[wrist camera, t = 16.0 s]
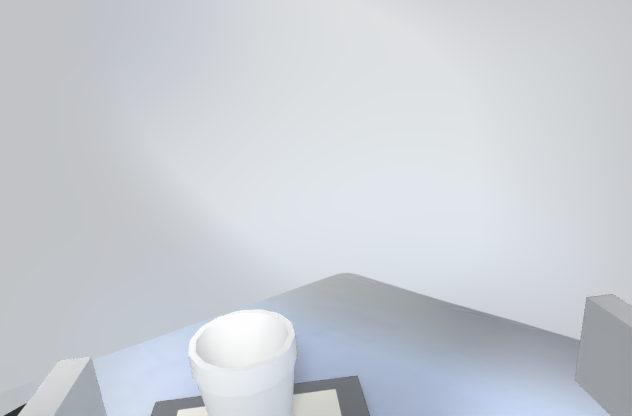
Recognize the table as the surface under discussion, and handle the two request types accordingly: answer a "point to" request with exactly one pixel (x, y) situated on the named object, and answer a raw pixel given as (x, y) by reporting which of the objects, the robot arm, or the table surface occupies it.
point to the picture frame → (308, 400)
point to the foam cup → (245, 364)
